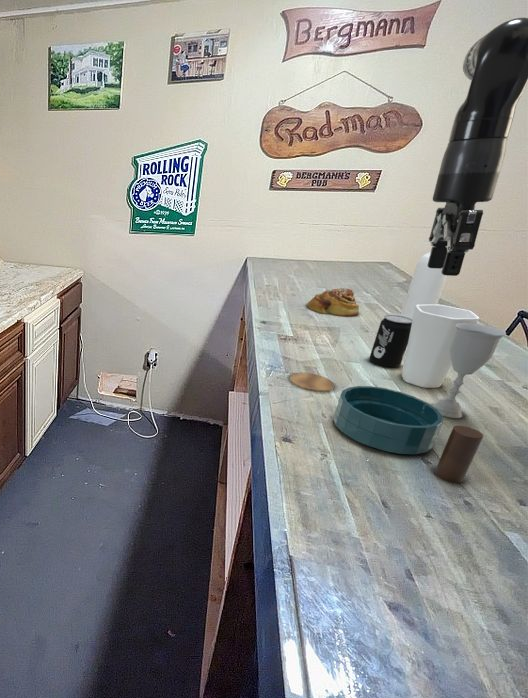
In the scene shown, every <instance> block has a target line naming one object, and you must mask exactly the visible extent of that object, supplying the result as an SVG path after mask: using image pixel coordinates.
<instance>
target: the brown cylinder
mask: <svg viewBox="0 0 528 698" xmlns="http://www.w3.org/2000/svg"><path fill="white" fill-rule="evenodd" d="M483 438H484V434H483V433H482V432H481V431H479V430H477V429H475V428H474V427H470V426H466V425H454V426H453V427H452V429H451V431H450V434H449V436H448V439H447V441H446V444H445V446H444V448H443V451H442V452H441V455H440V457H439V460H438V462H437V465H436V467H435V469H434V474H436V476H438V477H439V478H441V479H443V480H445V481H447V482H451V483H456V484H457V483H459V484H460V483H462V482H464V479H465V477H466V475H467V473H468V471H469V469H470V467H471V464H472V462H473V461H474V458H475V455H476V454H477V451H478V449H479V448H480V445H481V444H482V443H481V442H482V440H483Z"/></svg>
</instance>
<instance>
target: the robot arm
mask: <svg viewBox="0 0 528 698" xmlns="http://www.w3.org/2000/svg"><path fill="white" fill-rule="evenodd" d="M462 72H463V74H464V76H465V78H466V79H468V80H469V81H470V83H469V88H468V91H467V95H466V98H465V99H464V101H463V102H462V104H461V105H460V106H459V107H458V109H457V111H456V113H455V116H454V118H453V119H454V120H453V122H452V126H451V130H450V135H449V139H448V143H447V146H446V149H445V151H444V153H443V156H442V159H441V163H440V167H439V171H438V175H437V178H436V183H435V187H434V191H433V195H432V201H433V202H434V203H445V205H444V207H438V208H437V209H436V211H435V217H434V220H433V224H432V226H431V230H430V235H429V237H428V242H430V247H431V248H432V249H430V251H431V253H430V257H429V261H428V265H427V266H428V267H429V268H439V269H440V268H442V274H443V275H447V277H448V276H450V277H456V276H459V275H460V273H461V270H462V266H463V264H464V263H463V262H464V260H465V256H466V253H468V252H469V251H471V250H473V249H474V248H475V246H476V240H477V237H478V233H479V229H480V225H481V223H482V217H483V215H484V209H476V204H477V203H487V202H490V201H491V200H493V198H494V194H495V190H496V187H497V185H498V184H497V183H498V180H499V177H500V173H501V171H502V170H501V169H502V167H503V163H504V160H505V156H506V151H507V143H508V138H509V134H510V131H511V128H512V124H513V122H514V121H513V120H514V117H515V113H516V107H517V105H518V102H519V101H520V98H521V96H522V95H523V92H524V91H525V89H526V86H527V84H528V17H516V18H513V19H512V18H511V19H509V20H506V21H504V22H502V23H501V24H499V25H497V26H496V27H494V28H493V29H491V30H490V31H489V32H487V33H485V35H484V36H482V37H481V38H479V39H478V40H477V41H476V42H475V43H474V44H473V45H472V46H471V47H470V48H469V49H468V51H467V53H466V54H465V57H464V59H463V62H462ZM440 229H441V230H440ZM432 246H434V247H432ZM446 246H447V247H446Z"/></svg>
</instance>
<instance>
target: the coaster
mask: <svg viewBox="0 0 528 698" xmlns="http://www.w3.org/2000/svg"><path fill="white" fill-rule="evenodd" d="M289 381H290V382H291V383H292V384H293V385H294V386H296V387H297V388H300V389H303V390H307V391H311V392H317V393H326V392H327V393H328V392H331V391H333V390H334V389H335V383H334V382H333V381H332V380H330V379H329V378H327V377H325V376H322V375H319V374H315V373H310V372H295V373H292V374H291V375H290V376H289Z"/></svg>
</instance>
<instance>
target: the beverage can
mask: <svg viewBox="0 0 528 698" xmlns="http://www.w3.org/2000/svg"><path fill="white" fill-rule="evenodd" d="M411 325H412V319H411V318H408V317H404V316H400V314H398V315H397V314H386V315H384V317H383V318H382V320H381V321H380V322H379V326H378V329H377V333H376V336H375V339H374V342H373V345H372V348H371V352H370V355H369V359H370V361H371V363H372V364H374V365H376V366H379V367H383V368H389V369H391V368H392V369H393V368H397V367H399V366H400V365H401V364H402V362H403V359H404V356H405V354H406V351H407V346H408V341H409V336H410V330H411Z"/></svg>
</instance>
